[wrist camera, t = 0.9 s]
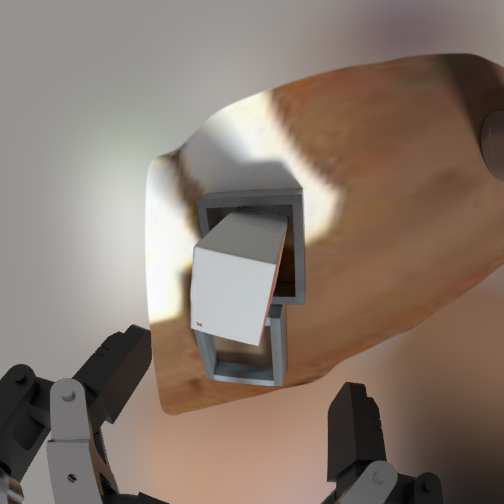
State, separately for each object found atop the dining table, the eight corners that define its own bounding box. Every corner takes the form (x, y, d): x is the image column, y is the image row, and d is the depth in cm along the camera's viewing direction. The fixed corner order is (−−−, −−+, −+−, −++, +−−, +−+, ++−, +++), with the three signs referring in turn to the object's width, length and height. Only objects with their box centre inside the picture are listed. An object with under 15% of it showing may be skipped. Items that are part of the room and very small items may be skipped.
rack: (285, 297, 35) (282, 316, 31) (287, 367, 39) (284, 387, 36) (198, 294, 37) (187, 311, 33) (214, 361, 42) (206, 379, 38)
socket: (302, 188, 29) (302, 194, 26) (305, 289, 34) (304, 304, 30) (207, 193, 31) (196, 199, 28) (221, 287, 36) (212, 301, 33)
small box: (278, 277, 34) (259, 348, 22) (228, 266, 35) (188, 329, 23) (291, 215, 30) (277, 264, 19) (236, 204, 31) (191, 245, 20)
